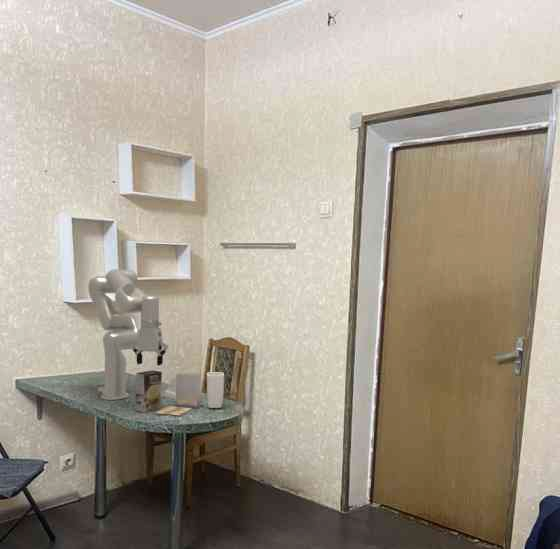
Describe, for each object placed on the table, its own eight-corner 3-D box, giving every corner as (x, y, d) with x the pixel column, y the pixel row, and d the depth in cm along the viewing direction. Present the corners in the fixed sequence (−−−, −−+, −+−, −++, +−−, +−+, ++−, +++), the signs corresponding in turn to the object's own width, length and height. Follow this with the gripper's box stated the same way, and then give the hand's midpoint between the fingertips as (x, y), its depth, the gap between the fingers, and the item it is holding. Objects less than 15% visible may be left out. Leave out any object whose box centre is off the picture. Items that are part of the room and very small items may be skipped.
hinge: (163, 394, 236) (169, 374, 238) (171, 396, 239) (177, 376, 241) (181, 401, 223) (187, 380, 226) (189, 403, 226) (195, 382, 229)
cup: (206, 405, 217) (206, 372, 217) (222, 405, 218) (223, 372, 218) (206, 409, 210) (207, 375, 210) (223, 409, 211) (224, 375, 211)
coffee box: (144, 413, 204) (145, 374, 204) (134, 410, 207) (135, 372, 208) (161, 408, 211) (162, 371, 211) (151, 406, 215) (152, 369, 215)
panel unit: (172, 406, 214) (173, 374, 214) (178, 403, 220) (179, 371, 220) (197, 409, 211) (198, 375, 211) (203, 405, 216) (203, 373, 217)
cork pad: (153, 414, 202) (153, 412, 202) (166, 407, 213) (166, 405, 213) (179, 416, 199) (179, 415, 199) (191, 409, 209) (191, 408, 209)
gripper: (172, 324, 211) (171, 364, 211) (136, 323, 215) (136, 362, 215) (163, 326, 204) (163, 366, 203) (127, 325, 208) (127, 364, 208)
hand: (149, 364), depth 209 cm, fingers open, 9 cm apart
